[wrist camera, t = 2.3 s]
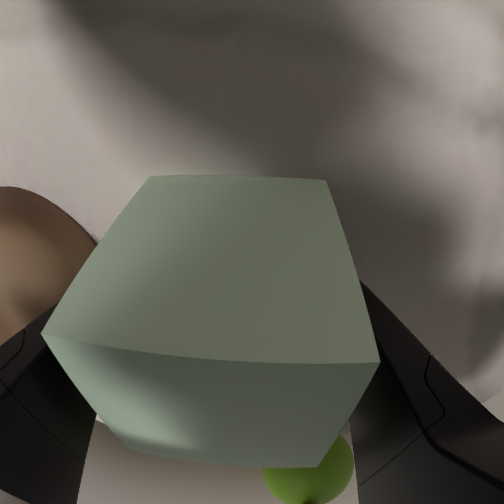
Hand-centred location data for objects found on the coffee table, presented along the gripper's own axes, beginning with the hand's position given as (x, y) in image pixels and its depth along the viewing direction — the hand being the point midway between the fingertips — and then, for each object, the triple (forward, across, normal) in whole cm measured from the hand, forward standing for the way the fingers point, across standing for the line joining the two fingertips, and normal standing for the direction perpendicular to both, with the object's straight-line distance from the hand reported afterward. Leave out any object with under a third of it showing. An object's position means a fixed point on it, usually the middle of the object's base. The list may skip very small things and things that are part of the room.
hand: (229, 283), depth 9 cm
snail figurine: (+2, -4, +13) cm, 14 cm away
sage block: (+2, 0, 0) cm, 2 cm away
